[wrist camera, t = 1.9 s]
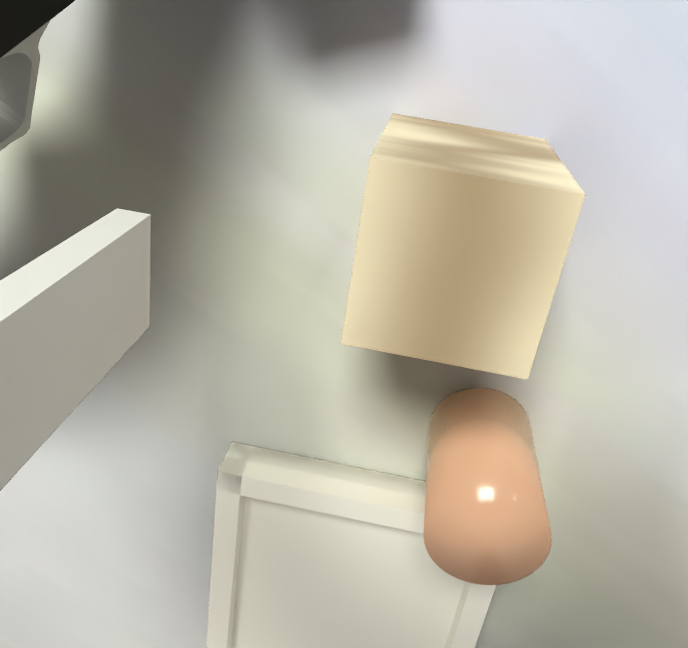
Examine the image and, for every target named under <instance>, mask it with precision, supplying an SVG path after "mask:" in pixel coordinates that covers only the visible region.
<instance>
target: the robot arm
mask: <svg viewBox="0 0 688 648" xmlns="http://www.w3.org/2000/svg"><path fill="white" fill-rule="evenodd" d="M150 245H151V214H146V213H140V212H135V211H129V210H123V209H118V208H117V209H115V210H113V211H112V212H110V213H109V214H107V215H105V216H104V217H102V218H101V219H99V220H97V221H96V222H94V223H92V224H91V225H89V226H88V227H86V228H84V229H83V230H81V231H80V232H78V233H76V234H75V235H73V236H71V237H70V238H68V239H67V240H65V241H63V242H62V243H60V244H59V245H57V246H55V247H54V248H52V249H50V250H49V251H47V252H46V253H44V254H42V255H41V256H39V257H38V258H36V259H34V260H33V261H31V262H29V263H28V264H26V265H25V266H23V267H21V268H20V269H18V270H17V271H15V272H13V273H12V274H10V275H8V276H7V277H5V278H4V279H2V280H0V491H1V490H2V489H3V487H4V486H5V485H6V484H7V483H8V482H9V481H10V480H11V479H12V478H13V476H14V475H15V474H16V473H17V472H18V471H19V470H20V469H21V468H22V467H23V465H24V464H25V463H26V462H27V461H28V460H29V459H30V458H31V457H32V455H33V454H34V453H35V452H36V451H37V450H38V449H39V448H40V447H41V446H42V444H43V443H44V442H45V441H46V440H47V439H48V438H49V437H50V436H51V435H52V433H53V432H54V431H55V430H56V429H57V428H58V427H59V426H60V425H61V424H62V422H63V421H64V420H65V419H66V418H67V417H68V416H69V415H70V414H71V413H72V411H73V410H74V409H75V408H76V407H77V406H78V405H79V404H80V403H81V401H82V400H83V399H84V398H85V397H86V396H87V395H88V394H89V393H90V392H91V390H92V389H93V388H94V387H95V386H96V385H97V384H98V383H99V382H100V381H101V379H102V378H103V377H104V376H105V375H106V374H107V373H108V372H109V371H110V370H111V368H112V367H113V366H114V365H115V364H116V363H117V362H118V361H119V360H120V359H121V357H122V356H123V355H124V354H125V353H126V352H127V351H128V350H129V349H130V347H131V346H132V345H133V344H134V343H135V342H136V341H137V340H138V339H139V338H140V336H141V335H142V334H143V333H144V332H145V331H146V330H147V329H148V328H149V327H150Z"/></svg>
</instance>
